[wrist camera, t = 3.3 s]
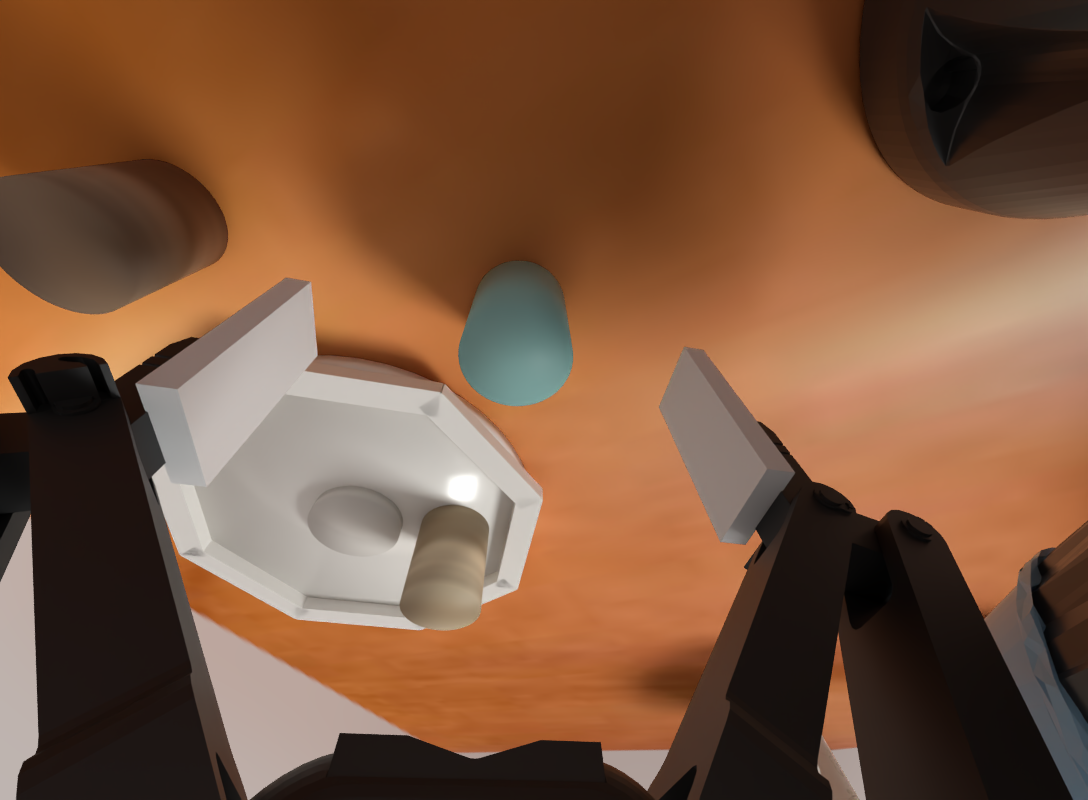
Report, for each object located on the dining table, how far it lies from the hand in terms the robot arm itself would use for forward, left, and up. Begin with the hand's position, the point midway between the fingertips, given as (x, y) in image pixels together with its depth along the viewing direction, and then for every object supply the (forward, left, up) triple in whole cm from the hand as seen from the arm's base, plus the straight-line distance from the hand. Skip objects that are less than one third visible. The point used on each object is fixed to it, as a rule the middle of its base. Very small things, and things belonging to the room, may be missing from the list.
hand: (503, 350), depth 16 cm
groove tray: (+14, -7, -4) cm, 16 cm away
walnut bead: (-1, -14, -4) cm, 14 cm away
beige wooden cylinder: (+14, -1, -3) cm, 14 cm away
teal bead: (0, 0, -4) cm, 4 cm away
